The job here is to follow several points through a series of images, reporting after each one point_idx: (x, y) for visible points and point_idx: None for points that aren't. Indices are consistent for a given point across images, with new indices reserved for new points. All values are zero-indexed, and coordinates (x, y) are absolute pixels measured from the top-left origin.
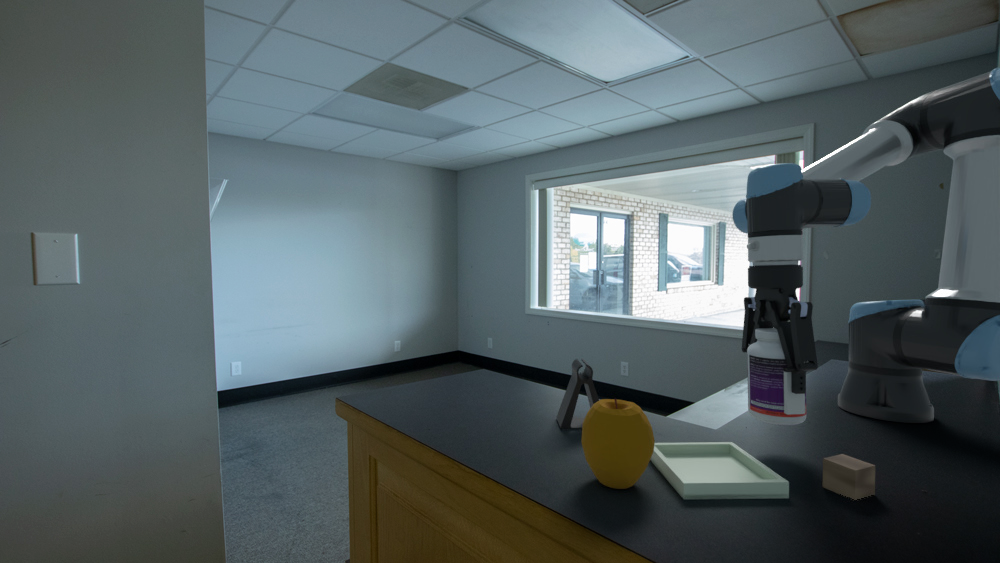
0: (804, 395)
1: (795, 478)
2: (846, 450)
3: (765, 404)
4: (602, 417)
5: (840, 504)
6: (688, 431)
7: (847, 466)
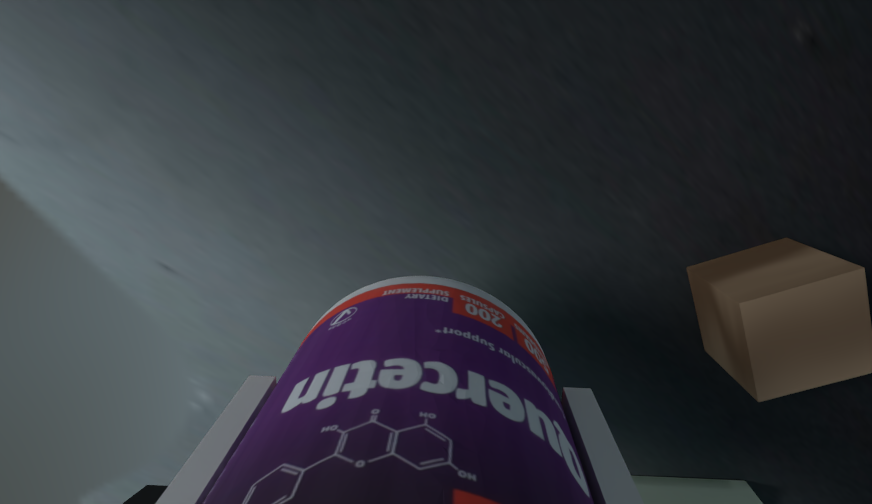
0: (621, 461)
1: (638, 387)
2: (429, 17)
3: None
4: None
5: None
6: None
7: (841, 373)
